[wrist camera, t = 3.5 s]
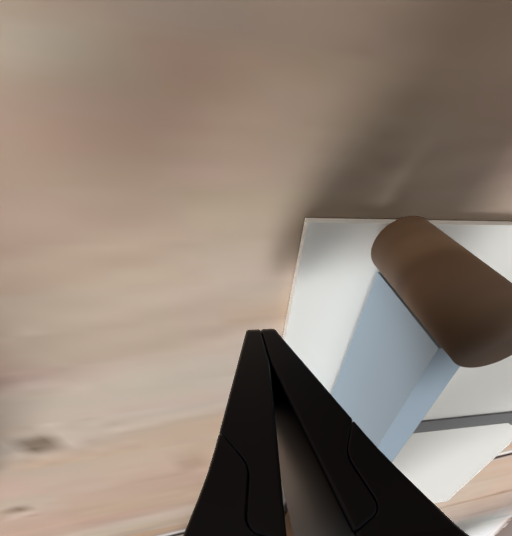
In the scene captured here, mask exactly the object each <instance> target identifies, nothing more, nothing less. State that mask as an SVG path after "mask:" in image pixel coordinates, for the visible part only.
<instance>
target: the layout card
mask: <svg viewBox="0 0 512 536" xmlns="http://www.w3.org/2000/svg"><path fill="white" fill-rule="evenodd" d="M394 221H396V219H339V218H305V221H304V227H303V232H302V237H301V242H300V248H299V253H298V258H297V263H296V268H295V274H294V279H293V284H292V289H291V295H290V300H289V305H288V310H287V315H286V321H285V326H284V331H283V336H282V338H283V339H284V341H285V342H286V343H287V344H288V345H289V346H290V348H291V349H292V350H293V351H294V352H295V353H296V355H297V356H298V357H299V358H300V359H301V360H302V361H303V363H304V364H305V365H306V366H307V367H308V368H309V370H310V371H311V372H312V373H313V374H314V375H315V377H316V378H317V379H318V380H319V381H320V382H321V384H322V385H323V386H324V387H325V388H326V389H327V390H328V392H329V393H330V394H332V391H333V389H334V386H335V383H336V381H337V378H338V375H339V373H340V370H341V367H342V365H343V362H344V359H345V357H346V354H347V351H348V349H349V346H350V343H351V341H352V338H353V335H354V333H355V330H356V327H357V325H358V322H359V319H360V317H361V314H362V311H363V309H364V306H365V303H366V301H367V298H368V295H369V293H370V290H371V287H372V285H373V282H374V279H375V277H376V274H377V272H380V271H379V270H378V269H377V267H376V266H375V265H374V263H373V262H372V259H371V248H372V245H373V243H374V240H375V239H376V237H377V236H378V234H379V233H380V232H381V231H382V230H383V229H384V228H385V227H386V226H388V225H389V224H390V223H392V222H394ZM428 221H429V222H430V223H432V224H433V225H435V226H436V227H437V228H439V229H440V230H441V231H443V232H444V233H445V234H447V235H448V236H449V237H451V238H452V239H453V240H455V241H456V242H457V243H459V244H460V245H462V246H463V247H464V248H466V249H467V250H468V251H470V252H471V253H472V254H474V255H475V256H476V257H478V258H479V259H480V260H482V261H483V262H484V263H486V264H487V265H489V266H490V267H491V268H493V269H494V270H495V271H497V272H498V273H499V274H501V275H502V276H503V277H505V278H506V279H507V280H509V281H510V282H511V283H512V222H510V221H453V220H428ZM511 442H512V355H511V356H509V357H507V358H505V359H503V360H501V361H499V362H496V363H493V364H490V365H487V366H482V367H476V368H466V367H461V366H460V367H459V369H458V370H457V372H456V373H455V374H454V376H453V377H452V379H451V380H450V381H449V383H448V384H447V386H446V387H445V388H444V390H443V391H442V393H441V394H440V395H439V397H438V398H437V400H436V401H435V402H434V404H433V405H432V407H431V408H430V410H429V411H428V412H427V414H426V415H425V417H424V418H423V419H422V421H421V422H420V424H419V425H418V426H417V428H416V429H415V431H414V432H413V433H412V435H411V436H410V438H409V439H408V440H407V442H406V443H405V445H404V446H403V448H402V449H401V450H400V452H399V453H398V455H397V456H396V457H395V459H394V460H393V462H392V463H393V464H394V465H395V466H396V467H397V468H398V469H399V470H400V471H401V472H402V473H403V474H404V475H405V476H406V477H407V478H408V479H409V480H410V481H411V482H412V483H413V484H414V485H415V486H416V487H417V488H418V489H419V490H420V491H421V492H422V493H423V494H424V495H425V496H426V497H427V498H428V499H429V500H431V501H432V502H433V503H438V502H445V501H448V500H449V499H450V498H451V497H452V496H453V495H455V494H456V493H457V492H458V491H459V490H460V489H461V488H462V487H463V486H464V485H465V484H467V483H468V482H469V481H470V480H471V479H472V478H473V477H474V476H475V475H476V474H477V473H479V472H480V471H481V470H482V469H483V468H484V467H485V466H486V465H487V464H488V463H489V462H490V461H492V460H493V459H494V458H495V457H496V456H497V455H498V454H499V453H500V452H501V451H502V450H504V449H505V448H506V447H507V446H508V445H509V444H510V443H511ZM282 494H283V505H284V512H287V511H288V508H287V504H286V500H285V496H284V491H283V487H282Z"/></svg>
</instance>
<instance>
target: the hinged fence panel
mask: <svg viewBox="0 0 512 536" xmlns="http://www.w3.org/2000/svg"><path fill="white" fill-rule="evenodd" d="M371 259H372V262H373V263H374V265H375V266H376V267H377V269H378V270H379V271H380V272H377V274H376V277H375V279H374V282H373V285H372V287H371V290H370V293H369V295H368V298H367V301H366V303H365V306H364V309H363V311H362V314H361V317H360V319H359V322H358V325H357V327H356V330H355V333H354V335H353V338H352V341H351V343H350V346H349V349H348V351H347V354H346V357H345V359H344V362H343V365H342V367H341V370H340V373H339V375H338V378H337V381H336V383H335V386H334V389H333V391H332V394H331V395H332V396H333V397H334V399H335V400H336V401H337V402H338V403H339V404H340V406H341V407H342V408H343V409H344V410H345V411H346V413H347V414H348V415H349V416H350V417H351V418H352V422H353V421H354V422H355V423H356V424H357V425H358V426H359V428H360V429H361V430H362V431H363V432H364V433H365V434H366V436H367V437H368V438H369V439H370V440H371V441H372V442H373V443H374V444H375V445H376V447H377V448H378V449H379V450H380V451H381V452H382V453H383V454H384V455H385V456H386V457H387V458H388V459H389V460H390V461H391V462H393V460H394V459H395V457H396V456H397V455H398V453H399V452H400V450H401V449H402V448H403V446H404V445H405V443H406V442H407V440H408V439H409V438H410V436H411V435H412V433H413V432H414V431H415V429H416V428H417V426H418V425H419V424H420V422H421V421H422V419H423V418H424V417H425V415H426V414H427V412H428V411H429V410H430V408H431V407H432V405H433V404H434V402H435V401H436V400H437V398H438V397H439V395H440V394H441V393H442V391H443V390H444V388H445V387H446V386H447V384H448V383H449V381H450V380H451V379H452V377H453V376H454V374H455V373H456V372H457V370H458V369H459V367H460V366H461V367H466V368H476V367H482V366H487V365H490V364H493V363H496V362H499V361H501V360H503V359H505V358H507V357H509V356H511V355H512V283H511V282H510V281H509V280H507V279H506V278H505V277H503V276H502V275H501V274H499V273H498V272H497V271H495V270H494V269H493V268H491V267H490V266H489V265H487V264H486V263H484V262H483V261H482V260H480V259H479V258H478V257H476V256H475V255H474V254H472V253H471V252H470V251H468V250H467V249H466V248H464V247H463V246H462V245H460V244H459V243H457V242H456V241H455V240H453V239H452V238H451V237H449V236H448V235H447V234H445V233H444V232H443V231H441V230H440V229H439V228H437V227H436V226H435V225H433V224H432V223H430V222H429V221H428V220H426V219H425V218H422V217H419V216H407V217H403V218H400V219H398V220H396V221H394V222H392V223H390V224H389V225H388V226H386V227H385V228H384V229H383V230H382V231H381V232H380V233H379V234H378V236H377V237H376V239H375V240H374V243H373V245H372V248H371Z"/></svg>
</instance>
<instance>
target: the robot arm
mask: <svg viewBox="0 0 512 536" xmlns="http://www.w3.org/2000/svg"><path fill="white" fill-rule="evenodd" d="M282 487H283V491H284V496H285V500H286V504H287V508H288V513H289V517H290V521H291V526H292V530H293V534H294V536H469V535H467V534H466V533H465V532H464V531H463V530H461V529H460V528H459V527H458V526H457V525H456V524H454V523H453V522H452V521H451V520H450V519H449V518H448V517H447V516H446V515H445V514H444V513H443V512H442V511H441V510H440V509H439V508H438V507H437V506H436V505H435V504H434V503H433V502H432V501H431V500H429V499H428V498H427V497H426V496H425V495H424V494H423V493H422V492H421V491H420V490H419V489H418V488H417V487H416V486H415V485H414V484H413V483H412V482H411V481H410V480H409V479H408V478H407V477H406V476H405V475H404V474H403V473H402V472H401V471H400V470H399V469H398V468H397V467H396V466H395V465H394V464H393V463H392V462H391V461H390V460H389V459H388V458H387V457H386V456H385V455H384V454H383V453H382V452H381V451H380V450H379V449H378V448H377V447H376V445H375V444H374V443H373V442H372V441H371V440H370V439H369V438H368V437H367V436H366V434H365V433H364V432H363V431H362V430H361V429H360V428H359V426H358V425H357V424H356V423H355V422H354V421H353V422H352V418H351V417H350V416H349V415H348V414H347V413H346V411H345V410H344V409H343V408H342V407H341V406H340V404H339V403H338V402H337V401H336V400H335V399H334V397H333V396H332V395H331V394H330V393H329V392H328V390H327V389H326V388H325V387H324V386H323V385H322V384H321V382H320V381H319V380H318V379H317V378H316V377H315V375H314V374H313V373H312V372H311V371H310V370H309V368H308V367H307V366H306V365H305V364H304V363H303V361H302V360H301V359H300V358H299V357H298V356H297V355H296V353H295V352H294V351H293V350H292V349H291V348H290V346H289V345H288V344H287V343H286V342H285V341H284V339H283V338H282V337H281V336H280V335H279V334H278V332H277V331H276V330H274V329H263V330H261V331H260V330H247V332H246V335H245V339H244V343H243V346H242V350H241V354H240V358H239V361H238V365H237V369H236V373H235V376H234V380H233V384H232V388H231V391H230V395H229V399H228V403H227V406H226V410H225V414H224V418H223V421H222V425H221V429H220V435H219V436H218V439H217V443H216V447H215V451H214V454H213V457H212V461H211V464H210V467H209V471H208V474H207V476H206V479H205V482H204V485H203V487H202V490H201V493H200V495H199V498H198V501H197V503H196V506H195V508H194V511H193V513H192V516H191V518H190V520H189V523H188V525H187V528H186V530H185V533H184V535H183V536H286V526H285V515H284V505H283V494H282Z"/></svg>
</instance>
